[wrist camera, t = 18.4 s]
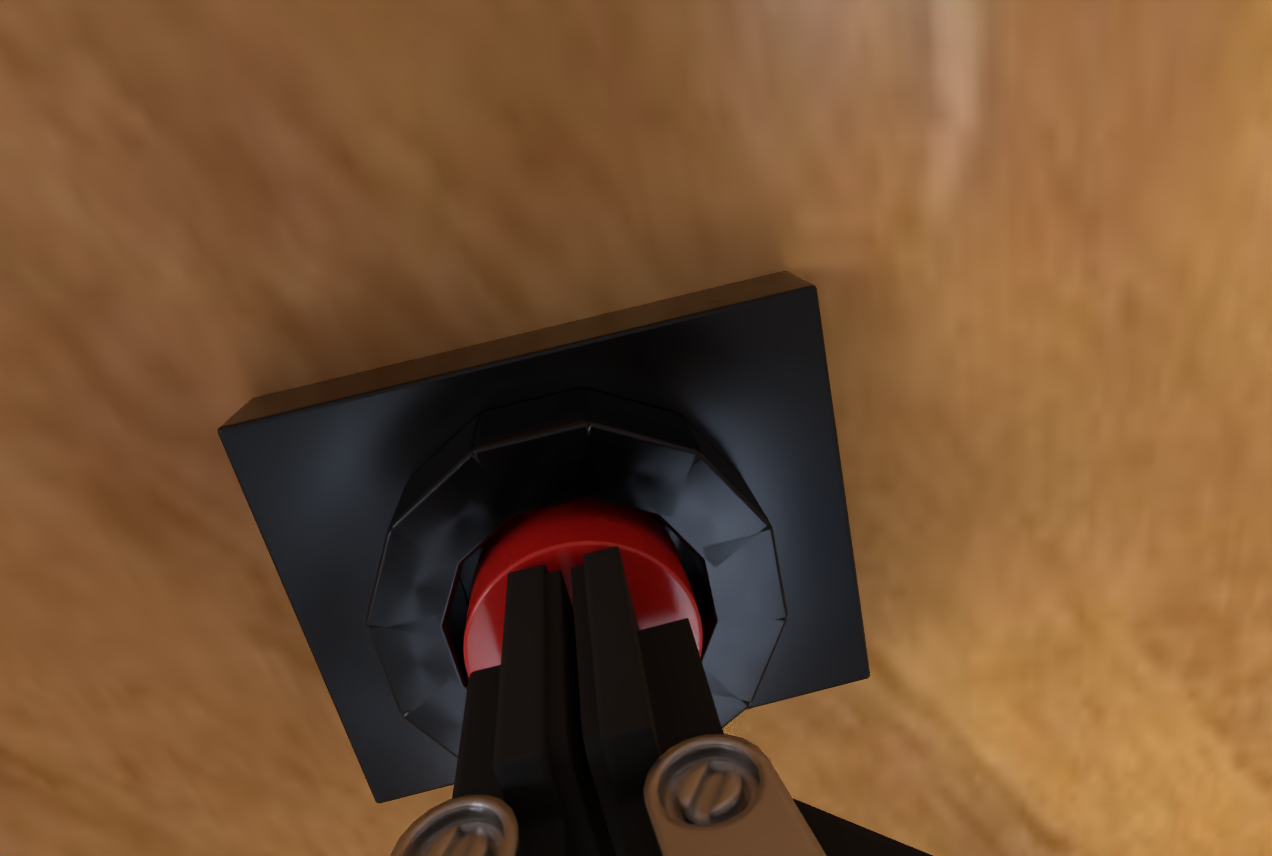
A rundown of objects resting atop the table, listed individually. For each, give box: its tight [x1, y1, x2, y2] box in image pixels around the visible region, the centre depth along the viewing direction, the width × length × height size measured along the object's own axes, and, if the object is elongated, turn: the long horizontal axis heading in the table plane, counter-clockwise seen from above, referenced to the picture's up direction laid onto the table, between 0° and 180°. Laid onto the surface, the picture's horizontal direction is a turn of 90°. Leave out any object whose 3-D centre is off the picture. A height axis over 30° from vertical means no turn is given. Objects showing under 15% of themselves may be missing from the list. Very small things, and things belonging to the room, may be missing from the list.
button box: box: [218, 271, 870, 803], centre depth 14 cm, size 10×8×4 cm
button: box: [463, 499, 703, 678], centre depth 13 cm, size 4×4×2 cm
